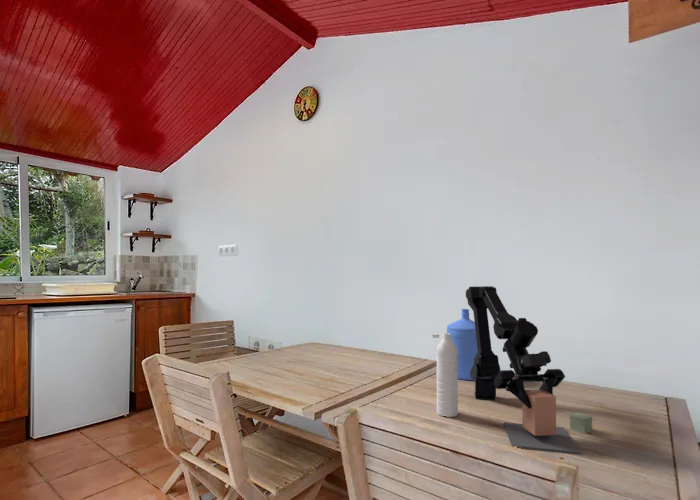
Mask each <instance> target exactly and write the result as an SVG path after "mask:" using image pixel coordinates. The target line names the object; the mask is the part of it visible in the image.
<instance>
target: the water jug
mask: <svg viewBox="0 0 700 500" xmlns="http://www.w3.org/2000/svg"><path fill="white" fill-rule="evenodd" d="M446 333H448V334H451V339H452V341H453V342H454V344H455V346H456V347H457V351H458V354H457V366H458V367H457V369H458V370H457V371H458V372H457V374H458V380H462V381H464V380H465V381H474V380H473V379H472V378H471V376H470V371H471V369H472V367H473V365H474V358H475V356H476V354H477V352H478V349H477V340H476V331H475V321H474V320H472V319H470V309H468V308H462V309H461V318H460V319H458V320H456V321H453V322H451V323H449V324H447V326H446Z"/></svg>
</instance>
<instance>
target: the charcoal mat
mask: <svg viewBox="0 0 700 500" xmlns="http://www.w3.org/2000/svg"><path fill="white" fill-rule="evenodd" d="M503 426H504V429H505V431H506V434H507V436H508V440H509V443H510V445H511V447H512V446H517V447H521V448H520V449H523V448H526V449H525V450H532V451H533V450H535V451H545V452H555V453H565V454H574V455H582V451H581V450H580V448H579V447H578V445H577V444H576V443H575V441H574V440H573V439H572V438H571V436H570V435H569V434H568V433H567V431H566V429H565V428H564V427H560V426H556V435H539V436H535V435H533V434H532V433H530V432H529V431H528V430H526V429H525V428H524V427H523V425H522V423H515V422H506V421H505V422H504V421H503Z"/></svg>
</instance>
